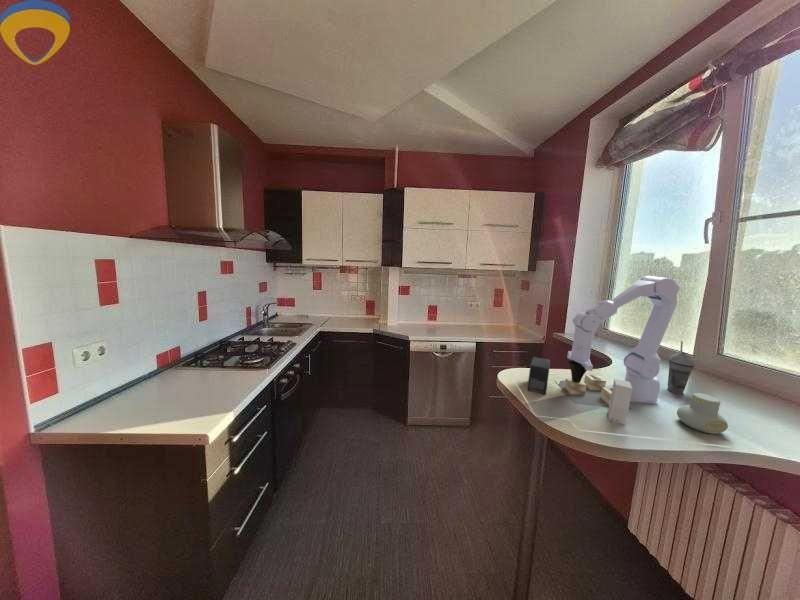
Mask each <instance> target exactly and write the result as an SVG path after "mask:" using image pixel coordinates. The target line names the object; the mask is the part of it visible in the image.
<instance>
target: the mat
mask: <svg viewBox="0 0 800 600" xmlns="http://www.w3.org/2000/svg"><path fill="white" fill-rule="evenodd" d="M558 387H559V389H561V390H562V392H564V394H565V395H567V396H568V398H569V399H570V400H571V401H572V402H573V403H574V404H577V405H588V406H597V407H606V408H607V407H608V408H609V405H608V404H607V403H606V402H605V401H604V400H603V399H601V398H600V397H601V391H599V390H590V389H589V388H588V387H587V386H586V392H585V395H576V394H570V393H569V392H568V391H567V390H566V389H565V388H564V387H565V380H563V379H562V381H560V383H559V384H558ZM628 410H632V408H631V407H630V406H629V409H628Z"/></svg>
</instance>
